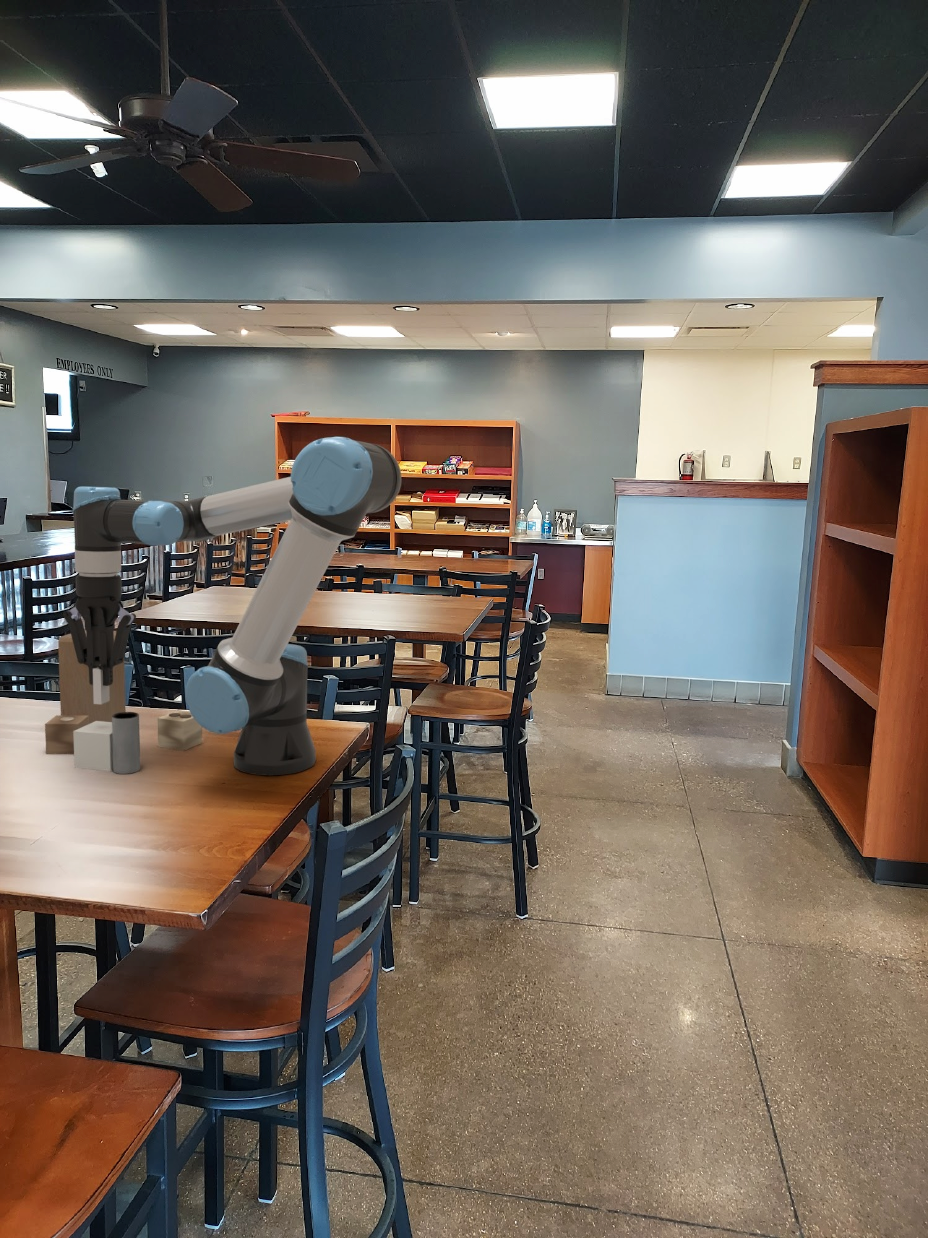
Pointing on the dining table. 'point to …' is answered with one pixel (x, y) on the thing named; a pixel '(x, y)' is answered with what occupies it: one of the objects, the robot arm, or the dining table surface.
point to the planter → (126, 742)
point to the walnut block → (63, 733)
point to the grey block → (94, 746)
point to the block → (86, 686)
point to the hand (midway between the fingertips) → (101, 702)
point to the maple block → (178, 731)
